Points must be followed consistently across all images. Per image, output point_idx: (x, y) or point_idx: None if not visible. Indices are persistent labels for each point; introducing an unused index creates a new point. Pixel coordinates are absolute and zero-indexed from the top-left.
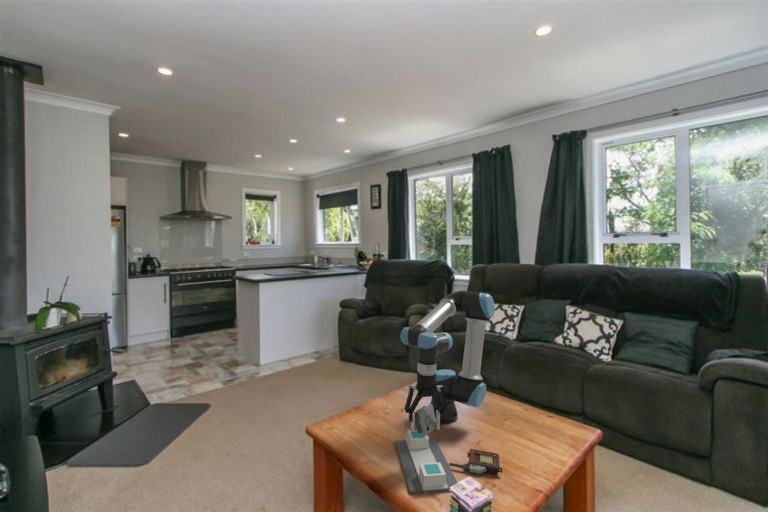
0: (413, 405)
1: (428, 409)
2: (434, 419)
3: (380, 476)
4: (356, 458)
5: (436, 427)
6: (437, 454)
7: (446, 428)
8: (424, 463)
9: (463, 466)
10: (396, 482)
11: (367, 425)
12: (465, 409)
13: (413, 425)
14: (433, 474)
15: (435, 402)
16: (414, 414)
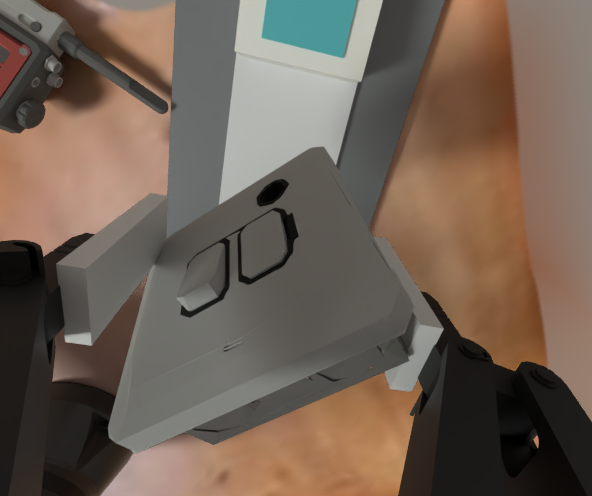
0: (496, 450)
1: (203, 363)
2: (157, 282)
3: (499, 152)
4: (518, 285)
5: (166, 230)
6: (194, 205)
7: (87, 359)
8: (332, 73)
9: (95, 56)
10: (460, 88)
11: (379, 433)
12: None
13: (392, 257)
14: None
15: (4, 435)
16: (421, 326)
